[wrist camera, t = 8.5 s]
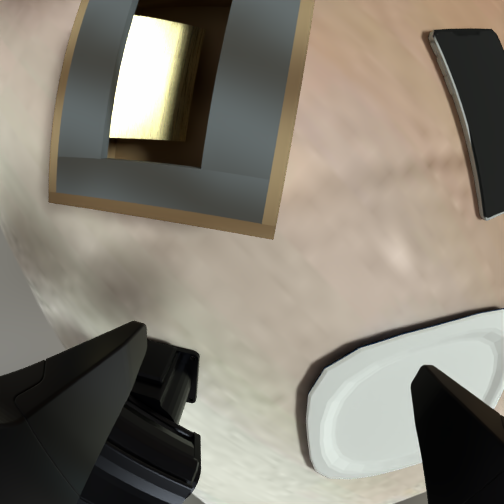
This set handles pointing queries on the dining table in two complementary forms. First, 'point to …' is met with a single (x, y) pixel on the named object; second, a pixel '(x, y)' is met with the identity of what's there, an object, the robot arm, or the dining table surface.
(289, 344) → the dining table surface
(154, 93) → the wooden block
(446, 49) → the smartphone
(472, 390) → the plate
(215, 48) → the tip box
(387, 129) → the dining table surface
